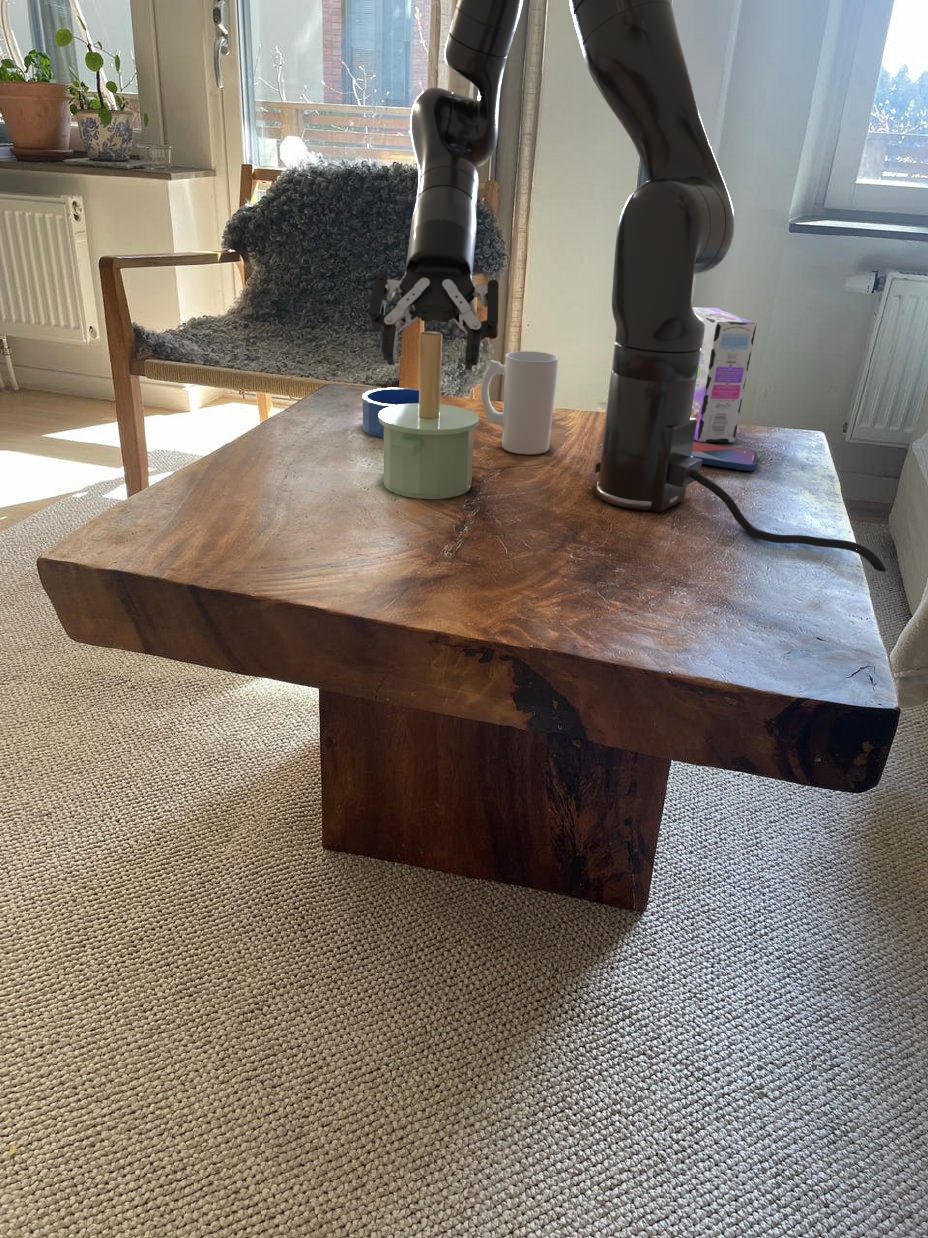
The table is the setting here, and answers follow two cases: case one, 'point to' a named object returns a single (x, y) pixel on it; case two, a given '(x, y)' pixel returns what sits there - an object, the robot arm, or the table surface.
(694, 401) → the candy box
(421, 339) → the lid
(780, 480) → the table surface
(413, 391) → the pan
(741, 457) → the smartphone
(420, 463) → the pot
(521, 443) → the mug
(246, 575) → the table surface
